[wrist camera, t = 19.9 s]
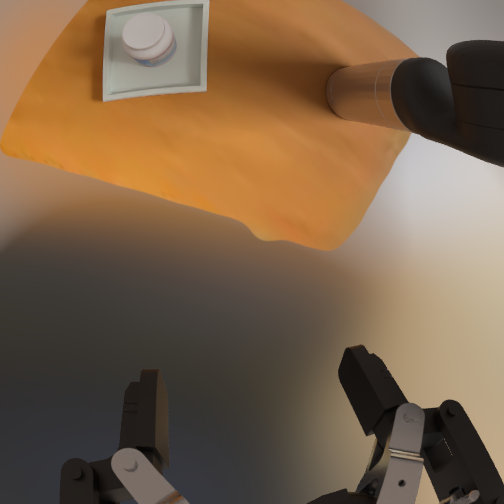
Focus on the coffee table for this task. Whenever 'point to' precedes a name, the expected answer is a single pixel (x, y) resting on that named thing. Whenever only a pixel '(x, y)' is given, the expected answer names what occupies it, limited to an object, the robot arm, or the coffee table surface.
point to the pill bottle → (149, 39)
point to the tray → (172, 72)
